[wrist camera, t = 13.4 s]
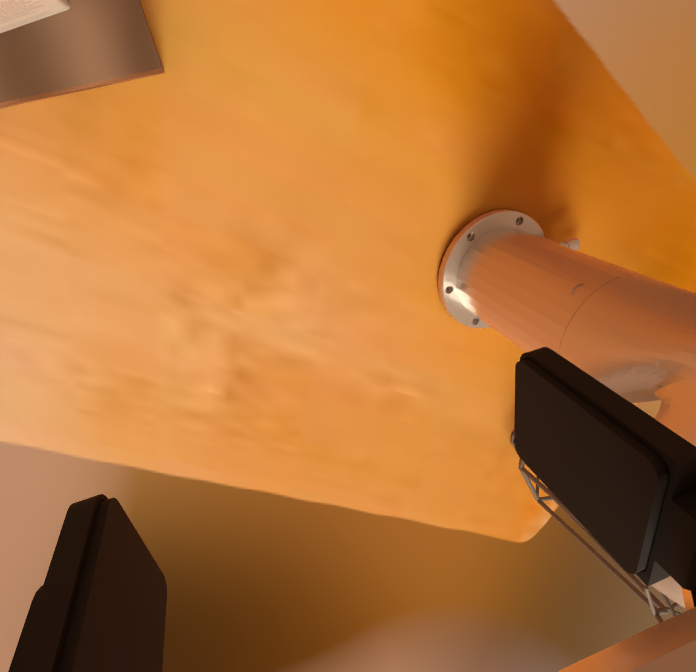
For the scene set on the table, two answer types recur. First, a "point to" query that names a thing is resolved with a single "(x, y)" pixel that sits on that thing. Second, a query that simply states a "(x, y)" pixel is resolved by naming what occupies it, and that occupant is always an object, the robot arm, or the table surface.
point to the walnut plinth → (76, 51)
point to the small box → (28, 11)
